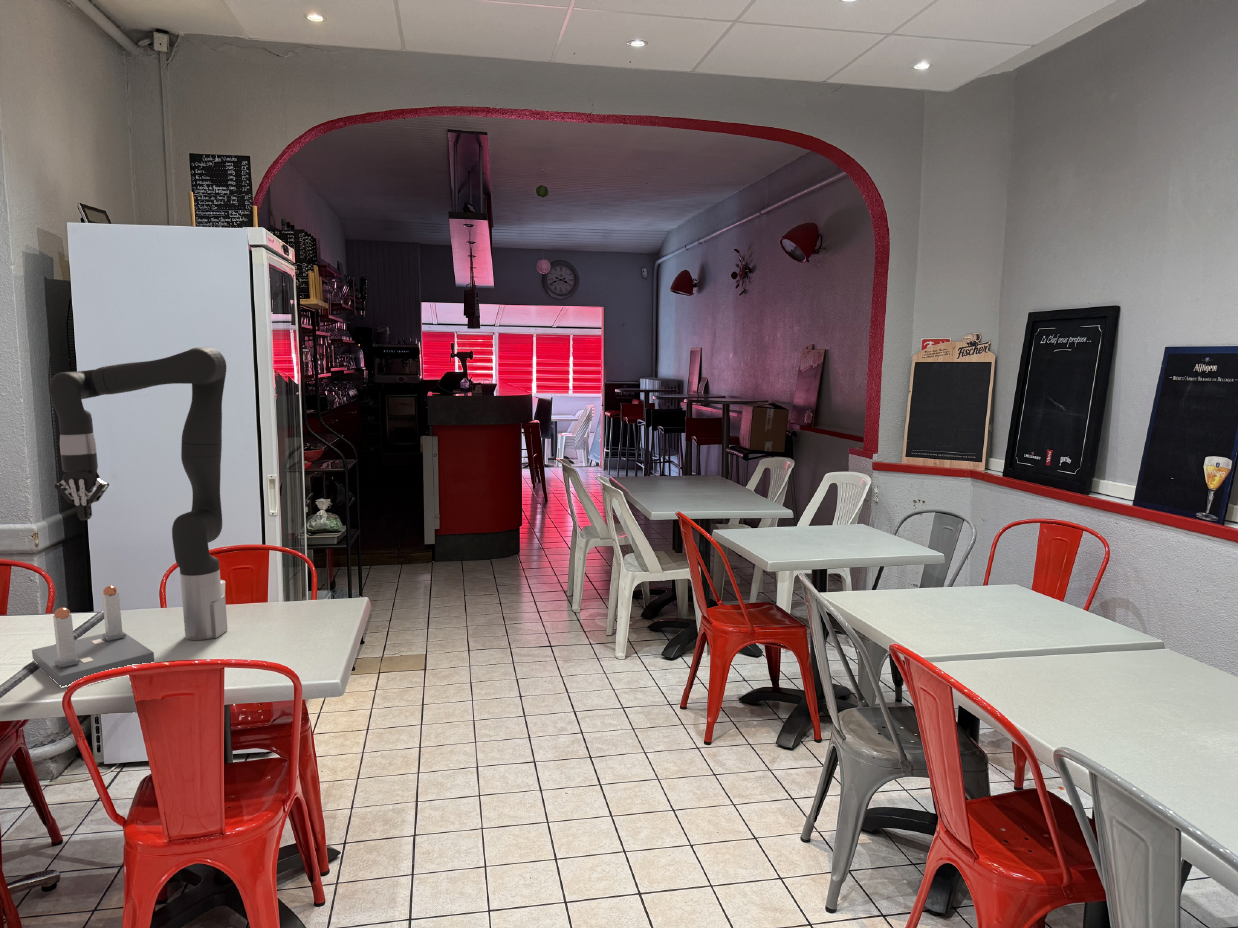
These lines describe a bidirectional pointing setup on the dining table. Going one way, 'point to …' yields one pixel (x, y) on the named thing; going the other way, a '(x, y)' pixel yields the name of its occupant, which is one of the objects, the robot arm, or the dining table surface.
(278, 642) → the dining table surface
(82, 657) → the switch box
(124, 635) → the lever inner
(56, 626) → the lever edge
